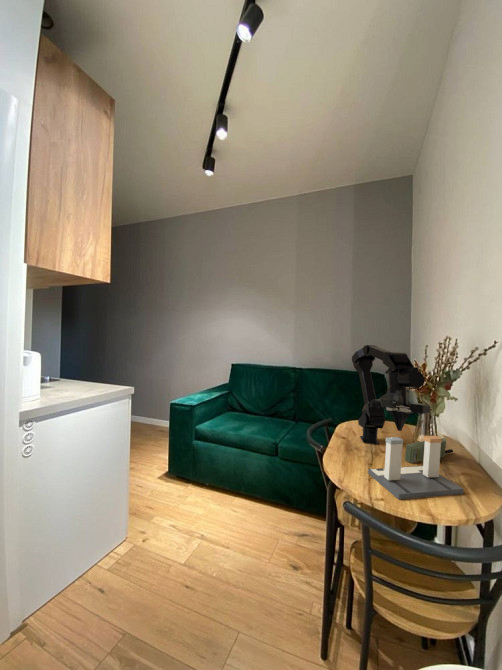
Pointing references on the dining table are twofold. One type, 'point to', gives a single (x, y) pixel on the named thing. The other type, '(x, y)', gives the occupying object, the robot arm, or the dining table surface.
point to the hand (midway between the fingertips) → (399, 430)
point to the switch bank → (415, 484)
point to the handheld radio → (422, 451)
